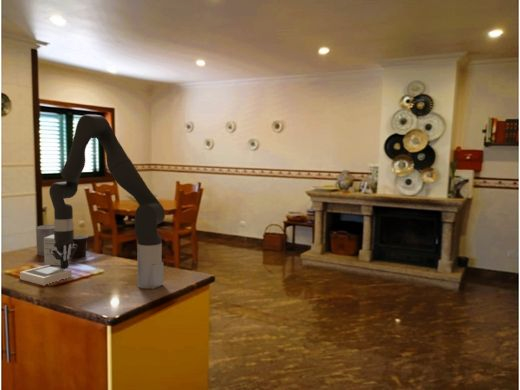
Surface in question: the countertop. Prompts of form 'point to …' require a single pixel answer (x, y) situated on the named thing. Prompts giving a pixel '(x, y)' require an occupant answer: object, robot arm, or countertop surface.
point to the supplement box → (49, 245)
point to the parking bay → (31, 277)
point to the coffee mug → (80, 246)
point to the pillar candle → (43, 236)
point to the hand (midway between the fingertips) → (64, 268)
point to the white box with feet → (48, 271)
